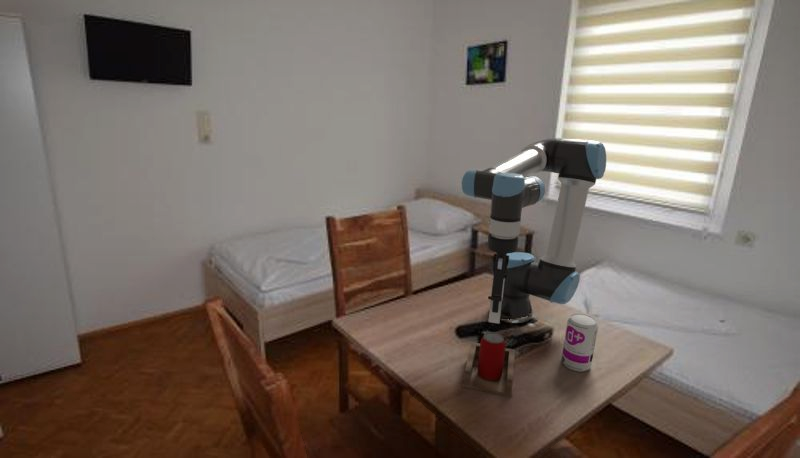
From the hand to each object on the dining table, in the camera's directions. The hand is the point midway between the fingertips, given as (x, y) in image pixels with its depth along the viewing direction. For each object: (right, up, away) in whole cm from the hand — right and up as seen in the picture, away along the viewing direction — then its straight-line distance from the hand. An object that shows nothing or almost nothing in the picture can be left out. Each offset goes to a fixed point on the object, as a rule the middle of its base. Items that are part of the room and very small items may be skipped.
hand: (495, 310), depth 115 cm
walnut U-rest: (0, -20, +6) cm, 21 cm away
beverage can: (-1, -19, +5) cm, 20 cm away
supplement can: (+27, -19, +13) cm, 35 cm away
